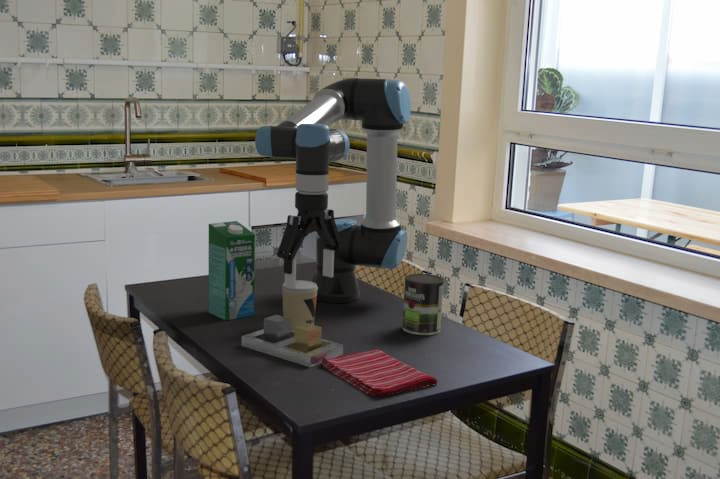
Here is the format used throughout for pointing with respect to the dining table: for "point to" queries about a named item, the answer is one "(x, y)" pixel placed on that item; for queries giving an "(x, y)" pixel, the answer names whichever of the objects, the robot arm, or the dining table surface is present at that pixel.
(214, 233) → the milk carton
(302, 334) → the tan rectangular block
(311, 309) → the coffee cup
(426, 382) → the dish towel
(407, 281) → the coffee can
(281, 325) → the tall grey box
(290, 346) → the grey tray
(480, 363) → the dining table surface
